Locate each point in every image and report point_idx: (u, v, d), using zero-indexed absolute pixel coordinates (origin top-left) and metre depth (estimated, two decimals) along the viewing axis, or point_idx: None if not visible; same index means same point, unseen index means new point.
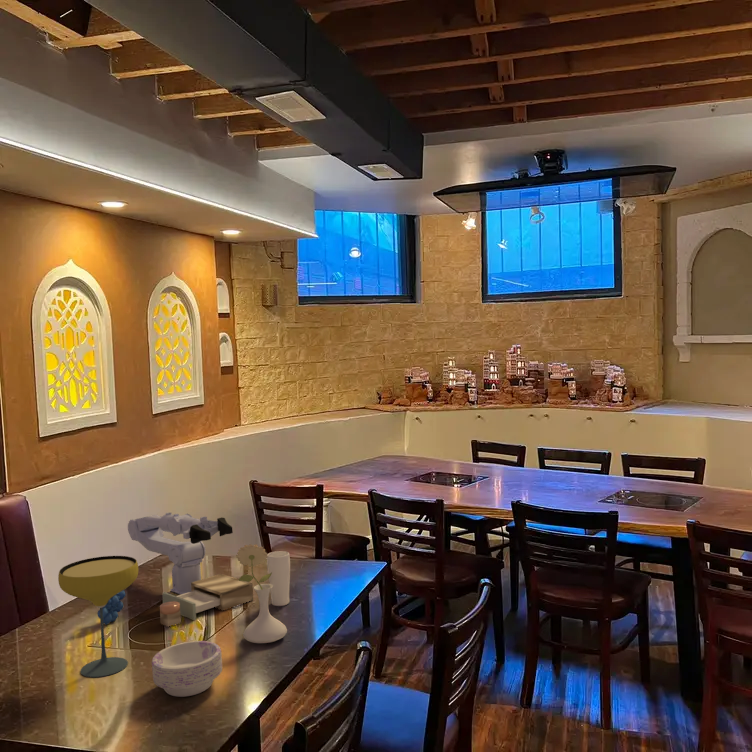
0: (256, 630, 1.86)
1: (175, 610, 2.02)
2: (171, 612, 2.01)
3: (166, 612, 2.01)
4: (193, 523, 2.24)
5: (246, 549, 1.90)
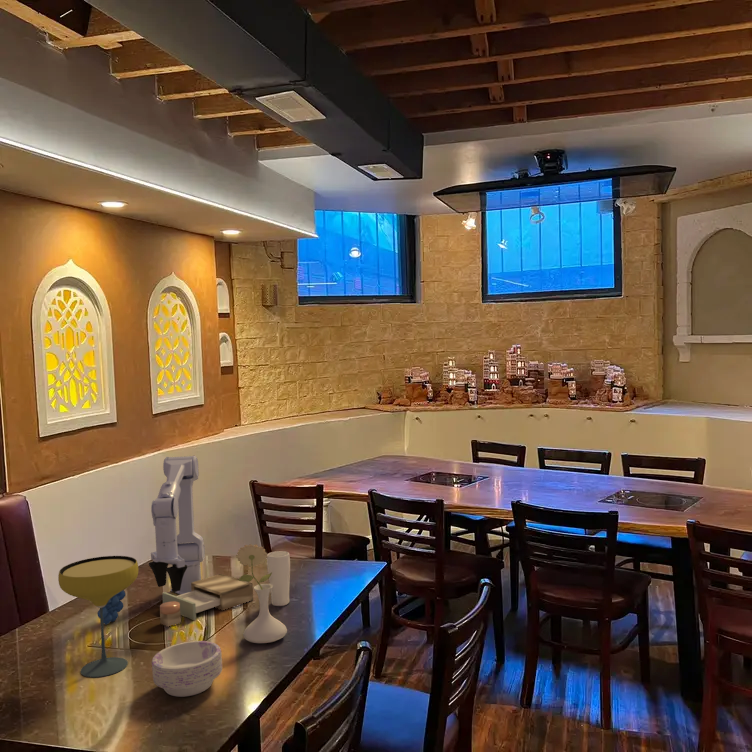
0: (256, 630, 1.86)
1: (175, 610, 2.02)
2: (171, 612, 2.01)
3: (166, 612, 2.01)
4: None
5: (246, 549, 1.90)
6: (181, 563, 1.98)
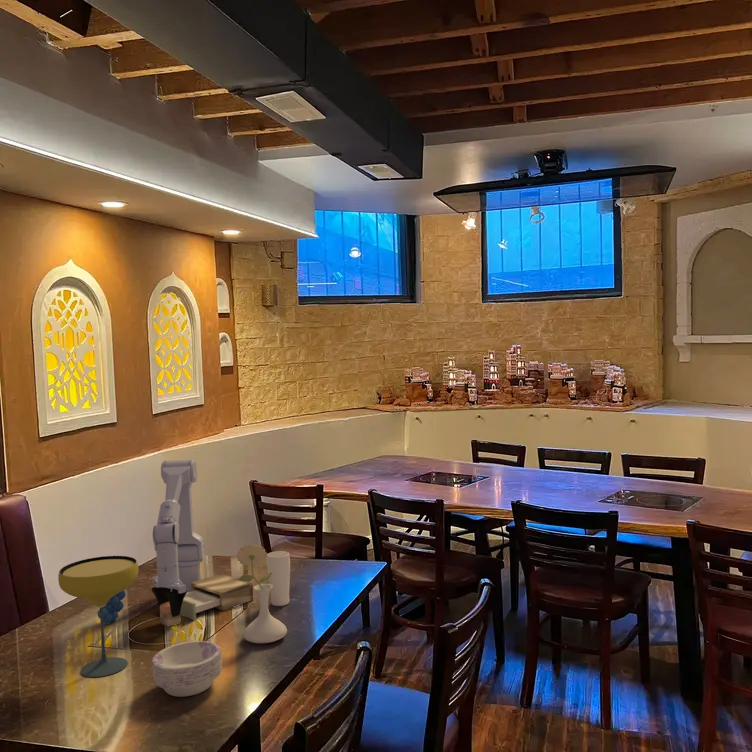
0: (256, 630, 1.86)
1: None
2: None
3: (166, 612, 2.01)
4: None
5: (246, 549, 1.90)
6: (182, 589, 1.99)
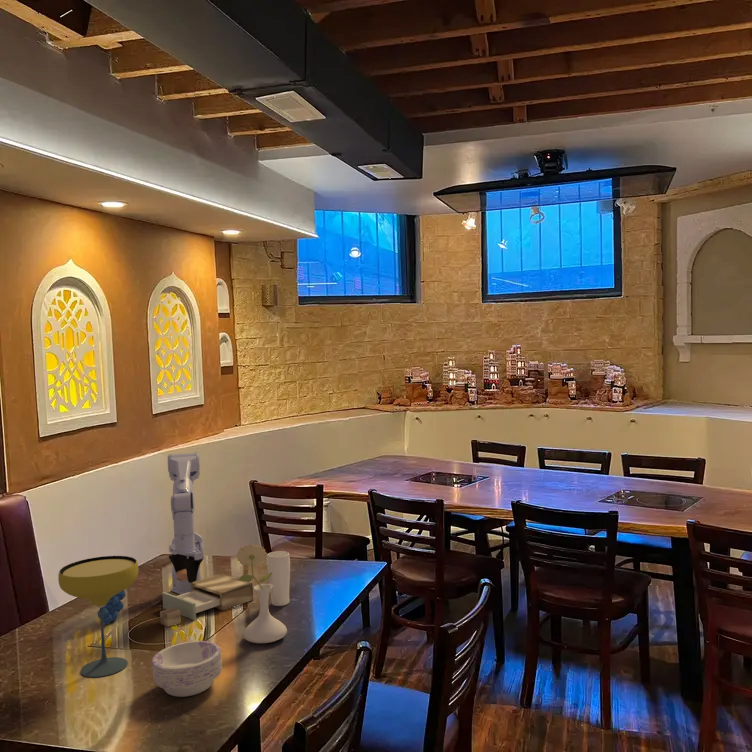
0: (256, 630, 1.86)
1: None
2: (187, 578, 2.09)
3: (183, 578, 2.09)
4: None
5: (246, 549, 1.90)
6: (198, 556, 2.06)
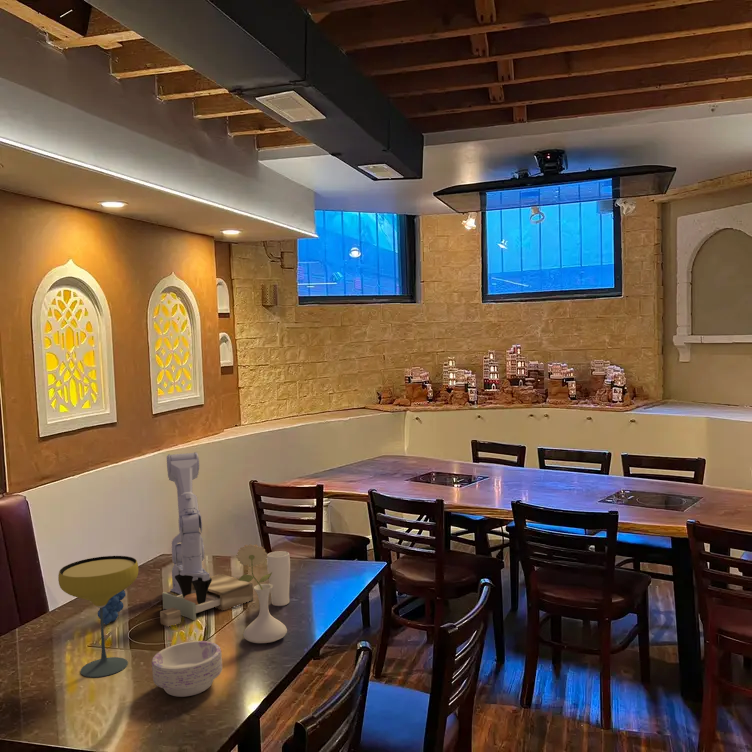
0: (256, 630, 1.86)
1: None
2: (195, 603, 2.12)
3: None
4: None
5: (246, 549, 1.90)
6: (206, 577, 2.10)
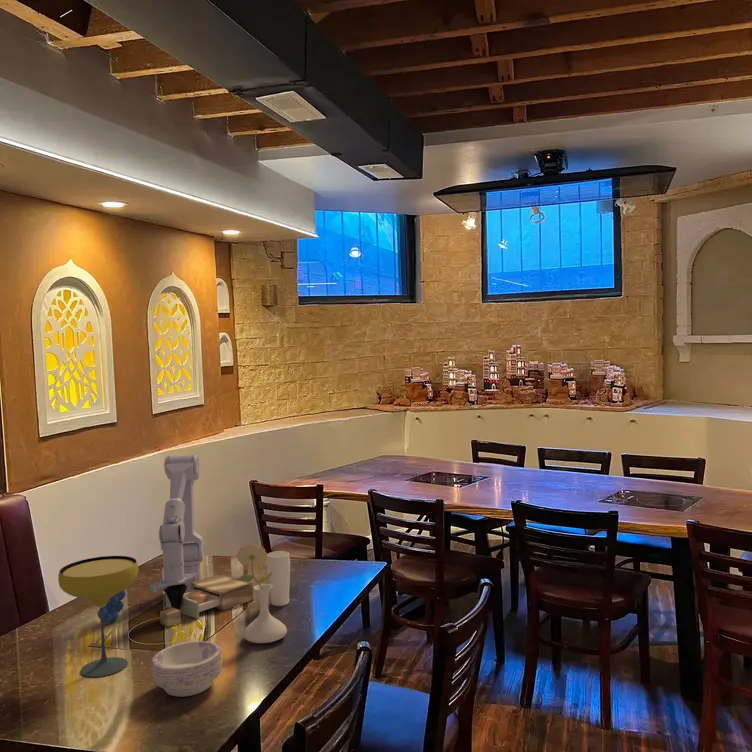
0: (256, 630, 1.86)
1: (202, 599, 2.14)
2: None
3: None
4: (171, 573, 2.07)
5: (246, 549, 1.90)
6: None
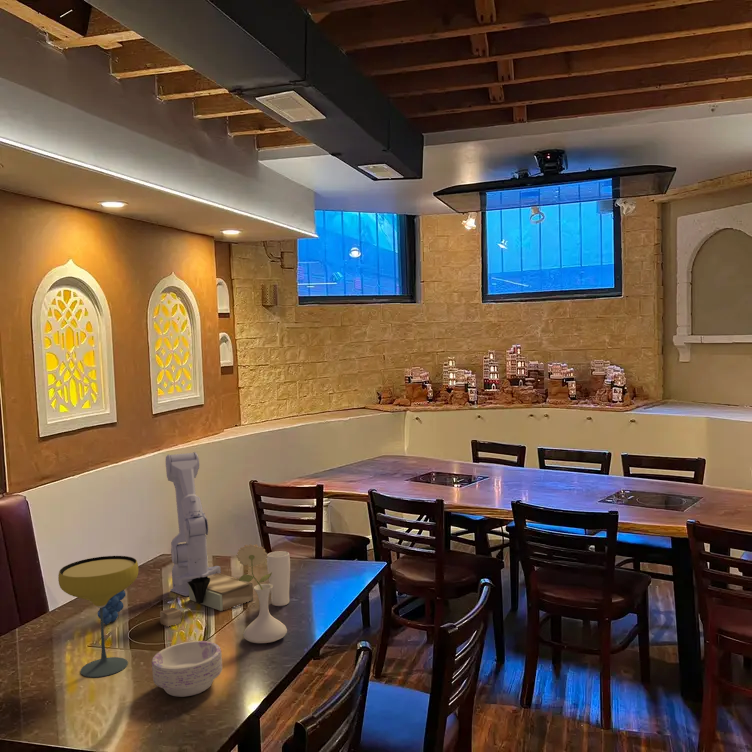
0: (256, 630, 1.86)
1: None
2: None
3: None
4: (196, 566, 2.13)
5: (246, 549, 1.90)
6: None
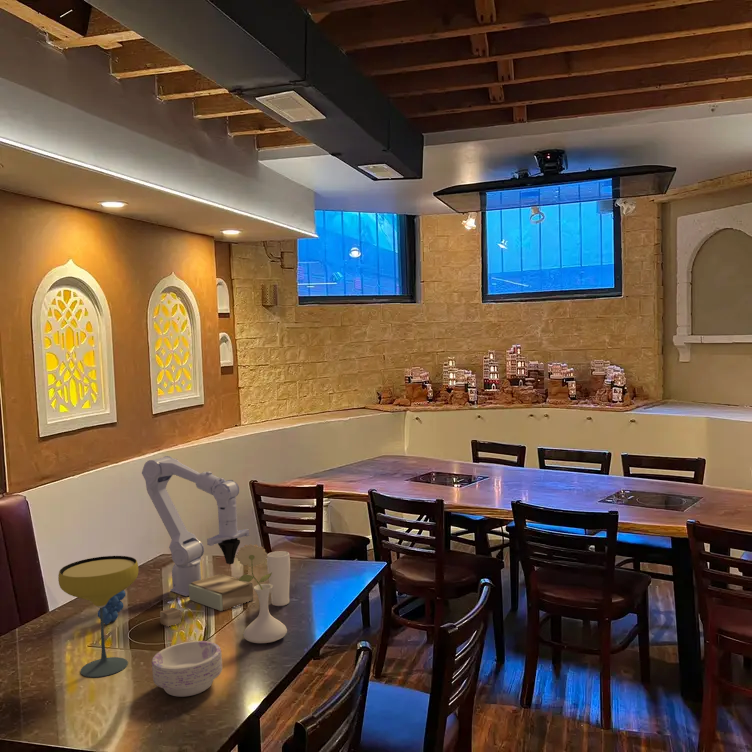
0: (256, 630, 1.86)
1: None
2: None
3: None
4: (226, 528, 2.23)
5: (246, 549, 1.90)
6: None
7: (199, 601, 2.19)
